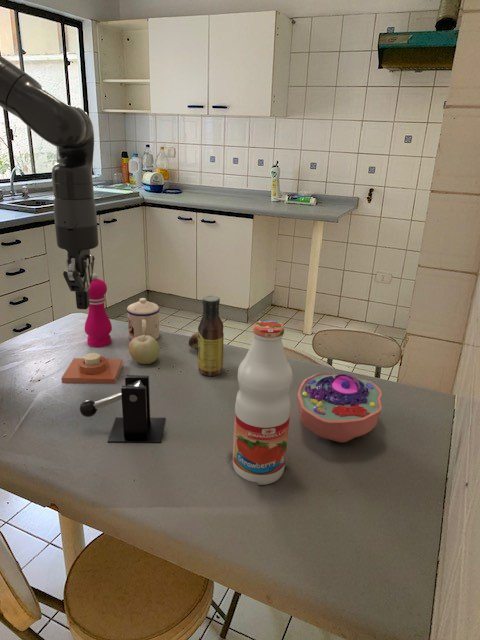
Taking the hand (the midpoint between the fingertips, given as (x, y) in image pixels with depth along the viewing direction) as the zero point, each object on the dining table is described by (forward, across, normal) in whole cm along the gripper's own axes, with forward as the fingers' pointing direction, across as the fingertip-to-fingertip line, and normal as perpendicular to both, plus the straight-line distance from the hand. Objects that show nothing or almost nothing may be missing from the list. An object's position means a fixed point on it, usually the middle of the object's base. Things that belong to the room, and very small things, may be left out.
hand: (83, 307), depth 93 cm
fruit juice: (+22, +21, +35) cm, 47 cm away
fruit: (+22, -19, +9) cm, 30 cm away
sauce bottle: (+22, -14, +26) cm, 37 cm away
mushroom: (+22, -26, +23) cm, 42 cm away
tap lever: (+15, +12, +8) cm, 21 cm away
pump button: (+18, -11, -2) cm, 21 cm away
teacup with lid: (+22, -33, +6) cm, 40 cm away
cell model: (+22, +9, +52) cm, 57 cm away
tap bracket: (+22, +12, +12) cm, 28 cm away
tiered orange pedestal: (+22, -11, -2) cm, 25 cm away
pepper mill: (+22, -30, -6) cm, 38 cm away
